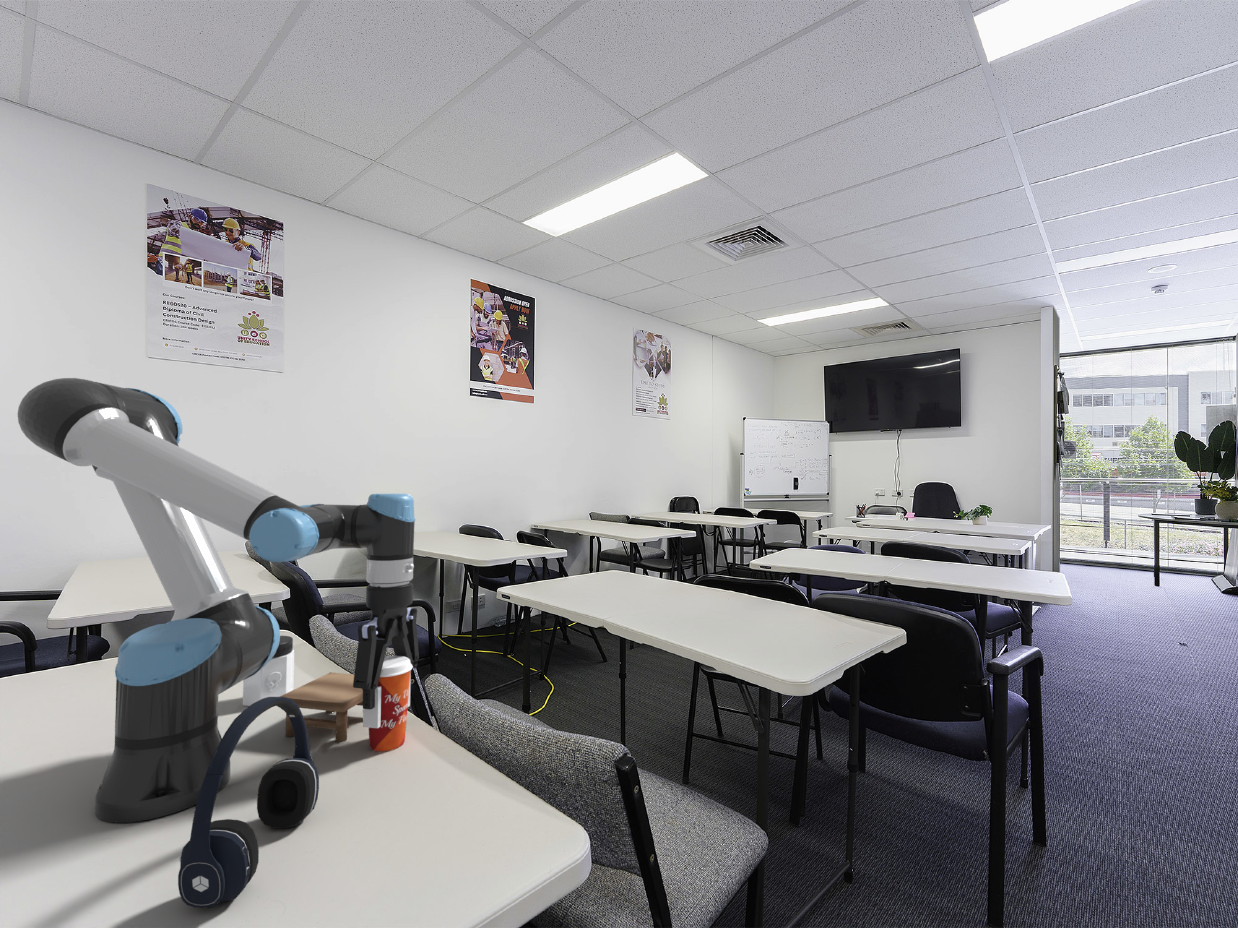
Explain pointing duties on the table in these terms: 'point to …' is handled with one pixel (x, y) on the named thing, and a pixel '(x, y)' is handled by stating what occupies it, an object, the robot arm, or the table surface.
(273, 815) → the headphones
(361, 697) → the stool
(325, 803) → the table surface
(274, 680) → the jar
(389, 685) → the paper cup
